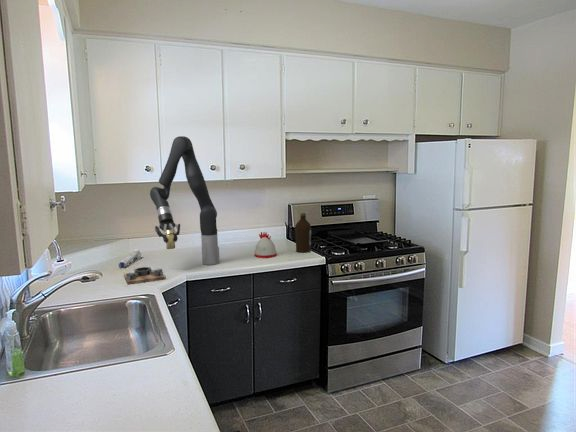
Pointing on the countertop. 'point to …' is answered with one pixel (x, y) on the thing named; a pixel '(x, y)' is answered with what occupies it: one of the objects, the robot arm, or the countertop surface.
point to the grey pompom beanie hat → (265, 247)
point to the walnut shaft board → (144, 279)
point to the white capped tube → (130, 258)
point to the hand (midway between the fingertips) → (171, 241)
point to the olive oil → (303, 235)
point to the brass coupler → (170, 239)
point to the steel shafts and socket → (143, 273)
